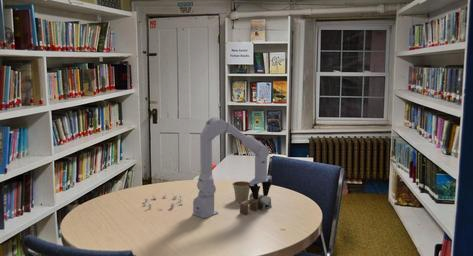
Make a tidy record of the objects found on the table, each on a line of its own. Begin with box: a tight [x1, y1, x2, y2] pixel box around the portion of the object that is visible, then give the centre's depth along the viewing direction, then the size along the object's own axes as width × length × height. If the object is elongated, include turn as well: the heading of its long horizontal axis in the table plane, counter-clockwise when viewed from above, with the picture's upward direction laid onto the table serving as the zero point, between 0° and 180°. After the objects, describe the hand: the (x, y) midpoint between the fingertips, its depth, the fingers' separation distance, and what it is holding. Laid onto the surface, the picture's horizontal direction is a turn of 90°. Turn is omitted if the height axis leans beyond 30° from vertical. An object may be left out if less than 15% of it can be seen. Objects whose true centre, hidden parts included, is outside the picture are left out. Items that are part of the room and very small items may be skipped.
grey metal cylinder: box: [248, 192, 272, 205], centre depth 208 cm, size 10×4×4 cm, turn 49°
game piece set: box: [143, 192, 183, 211], centre depth 213 cm, size 19×20×4 cm
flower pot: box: [232, 180, 251, 203], centre depth 217 cm, size 9×9×9 cm
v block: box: [248, 202, 273, 212], centre depth 208 cm, size 7×8×3 cm
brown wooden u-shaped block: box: [239, 198, 259, 216], centre depth 201 cm, size 9×4×5 cm, turn 139°
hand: (260, 197), depth 208 cm, fingers open, 7 cm apart
